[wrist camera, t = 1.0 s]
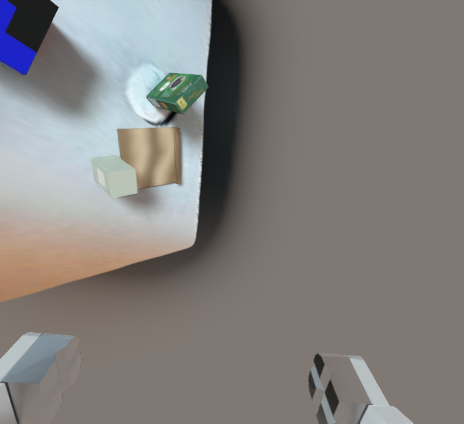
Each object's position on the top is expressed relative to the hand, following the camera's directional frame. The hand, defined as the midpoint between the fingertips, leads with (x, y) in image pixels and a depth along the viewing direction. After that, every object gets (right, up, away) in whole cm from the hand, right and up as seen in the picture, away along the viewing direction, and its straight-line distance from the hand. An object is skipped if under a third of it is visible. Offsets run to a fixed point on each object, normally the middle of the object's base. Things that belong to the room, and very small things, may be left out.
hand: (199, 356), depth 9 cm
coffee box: (-15, +32, +47) cm, 59 cm away
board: (-18, +18, +51) cm, 57 cm away
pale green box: (-26, +15, +45) cm, 55 cm away
